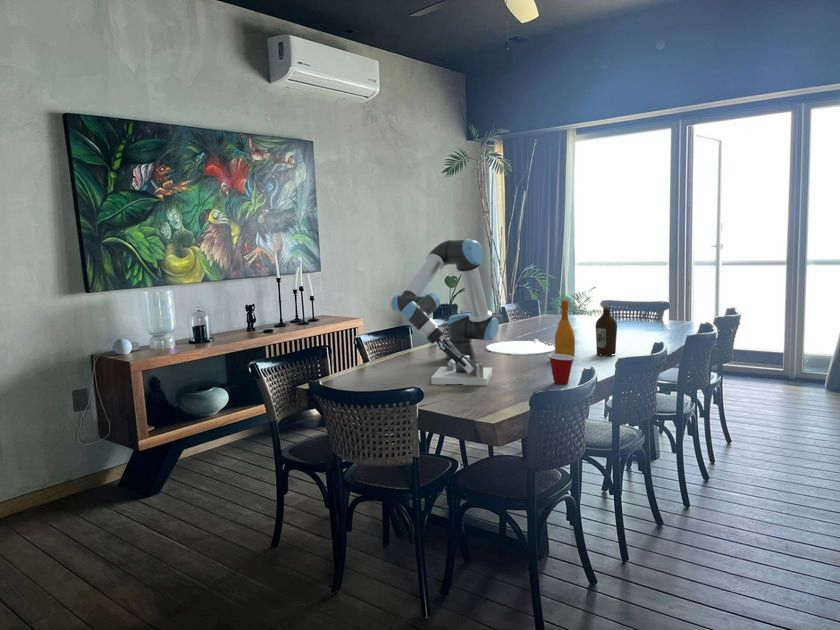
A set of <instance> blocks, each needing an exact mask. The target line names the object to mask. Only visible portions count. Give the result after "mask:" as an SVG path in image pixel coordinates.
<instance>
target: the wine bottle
mask: <svg viewBox="0 0 840 630" xmlns="http://www.w3.org/2000/svg"><path fill="white" fill-rule="evenodd" d="M560 303H561V305H560V306H561V307H560V309H561V317H560V318H559V320H558V322H557V328H556V331H555V335H554V345H555V351H554V354H565V355H570V356H574V357H575V353H576V352H575V351H576V350H575V348H576V342H575V341H576V340H575V333H574V330H573V327H572V325H571V323H570V319H569V315H568V310H569V301H568V300H561V302H560Z"/></svg>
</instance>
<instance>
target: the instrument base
mask: <svg viewBox="0 0 840 630" xmlns="http://www.w3.org/2000/svg"><path fill="white" fill-rule="evenodd" d="M492 374H493V367H484V366H483V378H481V379H478V378H477V377H474V376H472V375H470V374H468V373H458V372H456V363H455V361H454V360H453V359H451V360H449V361H448V362H447V366H440V367H439V368H438V369H437V370H436V371H435V372H434V374H432V376H431V377H430V379H431V380H430V381H431V385H445V384H463V385H462V386H488V384H489V382H490V380H489V379H491V378H492ZM490 377H491V378H490Z"/></svg>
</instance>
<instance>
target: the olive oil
mask: <svg viewBox="0 0 840 630" xmlns="http://www.w3.org/2000/svg"><path fill="white" fill-rule="evenodd" d="M602 308H603V309H602V314H601V316H600V317H599V318H598V319H597V320H596V322H595V341H596V343H595V344H596V355H597V354H601V355H612V354H615V353H616V352H617V349H616V348H617V334H618V333H617V332H618V323H617V321H616V320H615V318H614V317H613V316H612V315H611V313H610V312H611V309H610V308H611V307H610V306H603V307H602Z"/></svg>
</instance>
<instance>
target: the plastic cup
mask: <svg viewBox="0 0 840 630" xmlns="http://www.w3.org/2000/svg"><path fill="white" fill-rule="evenodd" d="M548 357H549V361H550V367H551V374H552V379H553V382H554V384H556V385H558V386H559V385H563V386H564V385H568V383H569V382H570V376H571V371H572V365H573V362H574V360H575V358H576V357H575V356H570V355H565V354H555V353H549V354H548Z"/></svg>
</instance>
